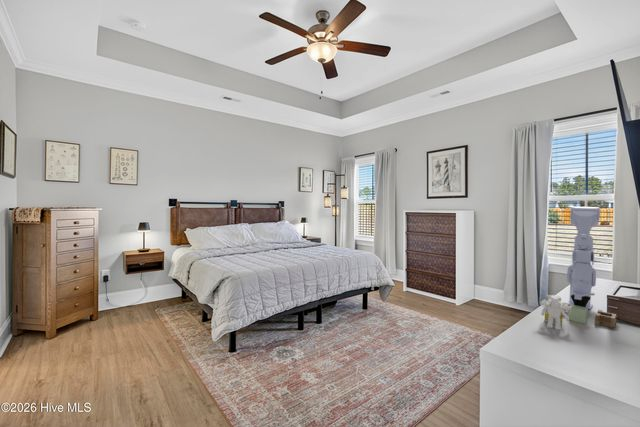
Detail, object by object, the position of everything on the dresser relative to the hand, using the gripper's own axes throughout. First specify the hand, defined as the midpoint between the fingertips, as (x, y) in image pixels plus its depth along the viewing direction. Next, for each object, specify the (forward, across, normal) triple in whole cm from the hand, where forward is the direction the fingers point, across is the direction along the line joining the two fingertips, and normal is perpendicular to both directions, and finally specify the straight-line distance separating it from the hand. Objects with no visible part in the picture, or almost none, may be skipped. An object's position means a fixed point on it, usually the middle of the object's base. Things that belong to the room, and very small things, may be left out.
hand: (579, 314), depth 123 cm
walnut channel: (+1, 0, -2) cm, 2 cm away
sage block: (+1, -4, 0) cm, 4 cm away
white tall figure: (+2, -14, +6) cm, 15 cm away
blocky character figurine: (+2, -21, +4) cm, 21 cm away
